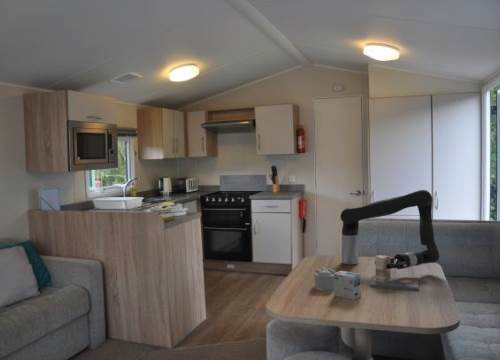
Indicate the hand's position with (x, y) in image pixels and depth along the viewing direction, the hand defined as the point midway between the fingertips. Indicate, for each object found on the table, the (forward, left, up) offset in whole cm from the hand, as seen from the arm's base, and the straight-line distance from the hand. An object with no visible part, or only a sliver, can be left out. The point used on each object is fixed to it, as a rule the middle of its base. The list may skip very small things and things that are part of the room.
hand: (381, 264), depth 215 cm
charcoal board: (+6, +1, -9) cm, 11 cm away
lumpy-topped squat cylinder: (-26, -11, -10) cm, 30 cm away
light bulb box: (-14, -23, -10) cm, 29 cm away
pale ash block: (+1, +1, -8) cm, 8 cm away
